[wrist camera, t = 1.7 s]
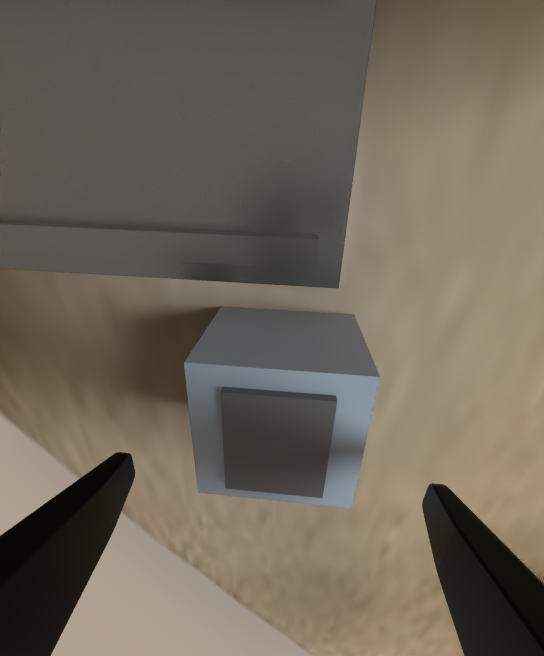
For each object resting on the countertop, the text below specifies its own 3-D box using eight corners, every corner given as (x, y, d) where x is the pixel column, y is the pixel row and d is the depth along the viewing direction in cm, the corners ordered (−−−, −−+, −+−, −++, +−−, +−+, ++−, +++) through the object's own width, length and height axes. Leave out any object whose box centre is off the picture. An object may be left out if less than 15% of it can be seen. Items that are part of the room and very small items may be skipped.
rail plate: (401, -239, 7) (499, -655, 4) (335, 281, 13) (349, 317, 9) (-314, -200, 9) (-755, -479, 5) (-96, 256, 14) (-233, 280, 11)
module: (353, 313, 14) (382, 382, 9) (337, 417, 16) (352, 515, 11) (221, 305, 14) (180, 367, 9) (226, 408, 16) (195, 499, 12)
